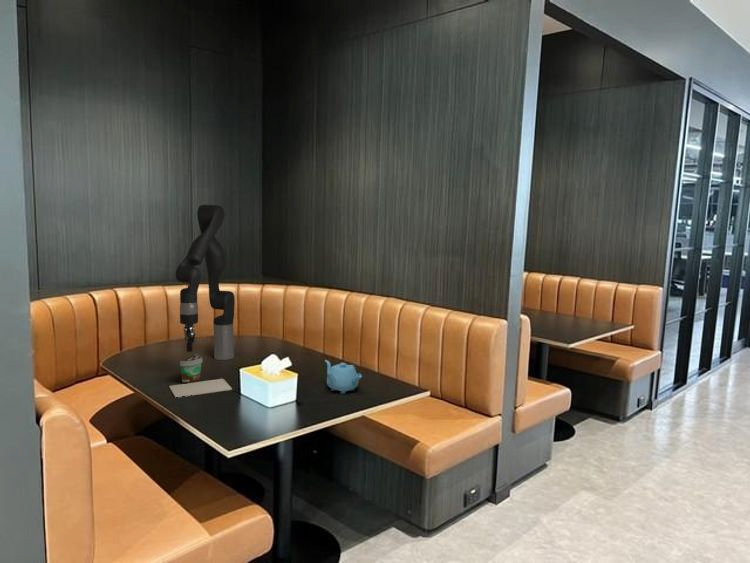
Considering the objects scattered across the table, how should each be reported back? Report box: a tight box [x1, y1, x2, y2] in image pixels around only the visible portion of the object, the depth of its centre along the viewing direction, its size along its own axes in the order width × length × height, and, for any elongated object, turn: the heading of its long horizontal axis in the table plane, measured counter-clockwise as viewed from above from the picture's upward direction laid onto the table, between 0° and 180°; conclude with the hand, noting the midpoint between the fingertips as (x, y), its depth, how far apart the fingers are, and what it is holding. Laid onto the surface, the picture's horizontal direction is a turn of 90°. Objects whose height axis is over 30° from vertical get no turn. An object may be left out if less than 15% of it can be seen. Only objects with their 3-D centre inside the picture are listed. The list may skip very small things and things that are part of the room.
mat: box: [168, 378, 233, 398], centre depth 224 cm, size 14×22×1 cm, turn 120°
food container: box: [179, 353, 204, 383], centre depth 232 cm, size 12×6×10 cm, turn 168°
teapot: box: [324, 359, 363, 395], centre depth 225 cm, size 15×14×11 cm
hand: (189, 351), depth 239 cm, fingers closed
